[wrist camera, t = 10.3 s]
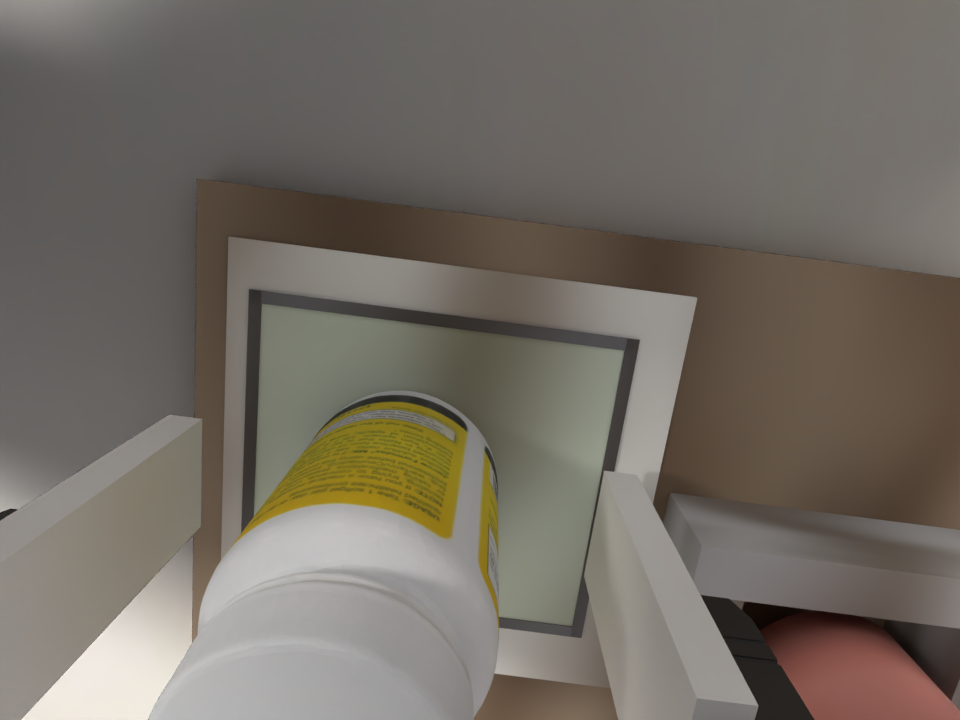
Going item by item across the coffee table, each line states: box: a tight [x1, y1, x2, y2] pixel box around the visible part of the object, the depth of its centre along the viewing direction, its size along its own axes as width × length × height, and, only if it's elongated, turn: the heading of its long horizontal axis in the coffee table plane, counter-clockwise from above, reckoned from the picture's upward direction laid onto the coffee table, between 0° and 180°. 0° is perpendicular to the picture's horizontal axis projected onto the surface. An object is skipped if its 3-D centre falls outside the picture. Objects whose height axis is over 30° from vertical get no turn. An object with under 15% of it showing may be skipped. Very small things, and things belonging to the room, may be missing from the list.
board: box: [192, 179, 960, 720], centre depth 15 cm, size 20×14×3 cm
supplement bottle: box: [148, 391, 499, 720], centre depth 11 cm, size 5×5×8 cm
